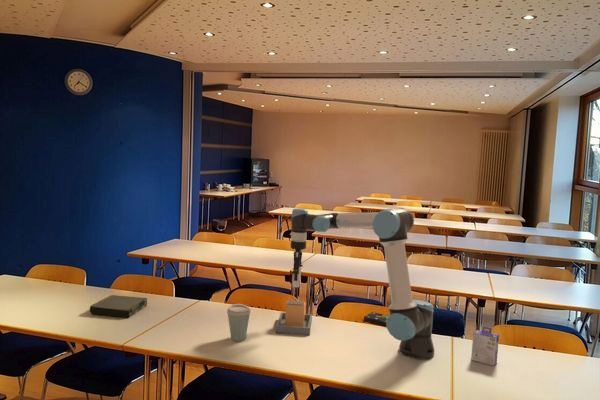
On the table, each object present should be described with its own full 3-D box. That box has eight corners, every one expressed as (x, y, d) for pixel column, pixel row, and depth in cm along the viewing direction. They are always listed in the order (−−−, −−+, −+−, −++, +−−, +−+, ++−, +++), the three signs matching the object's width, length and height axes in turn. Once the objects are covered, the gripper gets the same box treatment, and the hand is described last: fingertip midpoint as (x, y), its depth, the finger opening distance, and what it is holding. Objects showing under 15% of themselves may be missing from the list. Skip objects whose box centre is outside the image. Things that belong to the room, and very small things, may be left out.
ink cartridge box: (497, 361, 207) (500, 329, 206) (494, 366, 203) (497, 333, 201) (473, 356, 212) (476, 324, 211) (470, 360, 208) (473, 327, 206)
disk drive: (363, 321, 252) (389, 328, 244) (363, 316, 252) (390, 322, 244) (371, 316, 261) (397, 322, 253) (372, 311, 261) (398, 317, 252)
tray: (309, 335, 228) (309, 328, 227) (275, 332, 229) (276, 325, 229) (311, 321, 248) (312, 314, 247) (280, 318, 249) (281, 312, 248)
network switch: (133, 319, 239) (133, 309, 239) (86, 317, 239) (86, 307, 239) (148, 305, 262) (149, 296, 262) (105, 302, 262) (106, 293, 262)
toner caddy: (303, 327, 235) (304, 305, 234) (284, 326, 236) (285, 303, 235) (304, 323, 241) (305, 301, 240) (286, 322, 242) (287, 300, 240)
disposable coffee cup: (254, 339, 219) (255, 307, 218) (236, 345, 212) (237, 312, 210) (239, 333, 227) (240, 301, 225) (221, 338, 219) (222, 306, 217)
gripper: (293, 235, 247) (291, 276, 249) (288, 244, 222) (286, 289, 224) (307, 236, 246) (306, 277, 248) (304, 245, 222) (302, 290, 223)
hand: (296, 283), depth 236 cm, fingers open, 13 cm apart
